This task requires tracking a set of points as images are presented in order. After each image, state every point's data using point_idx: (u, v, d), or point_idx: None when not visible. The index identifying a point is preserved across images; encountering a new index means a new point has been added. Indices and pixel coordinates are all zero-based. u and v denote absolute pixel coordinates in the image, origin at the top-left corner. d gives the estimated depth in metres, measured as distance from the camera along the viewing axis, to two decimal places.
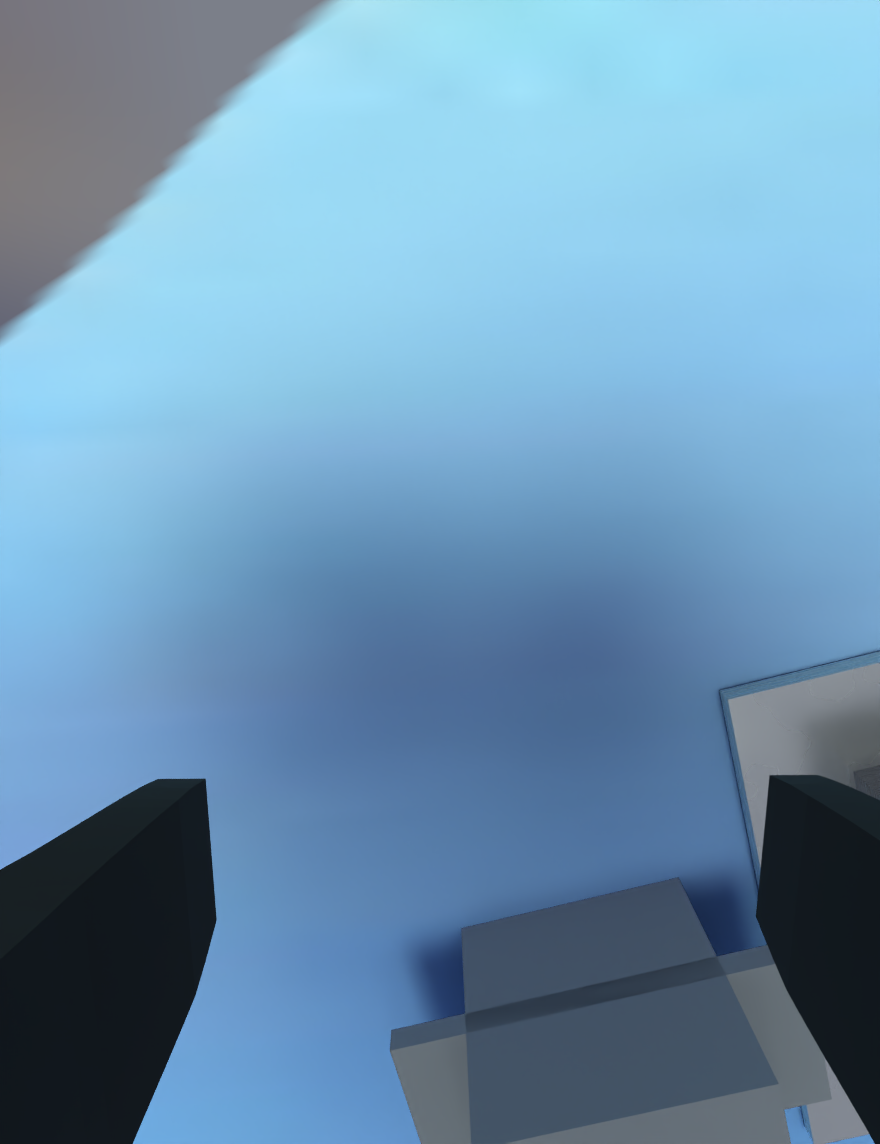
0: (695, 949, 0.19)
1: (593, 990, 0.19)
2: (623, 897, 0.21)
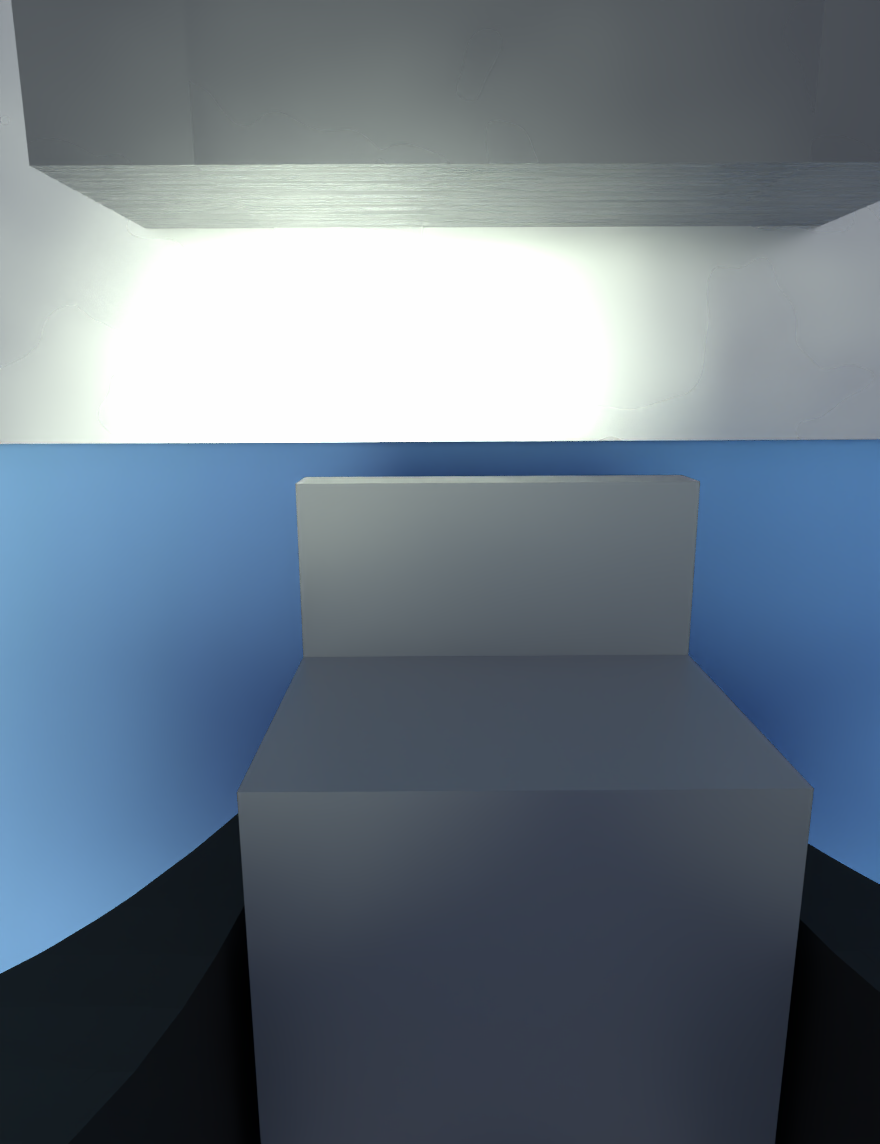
0: None
1: None
2: None
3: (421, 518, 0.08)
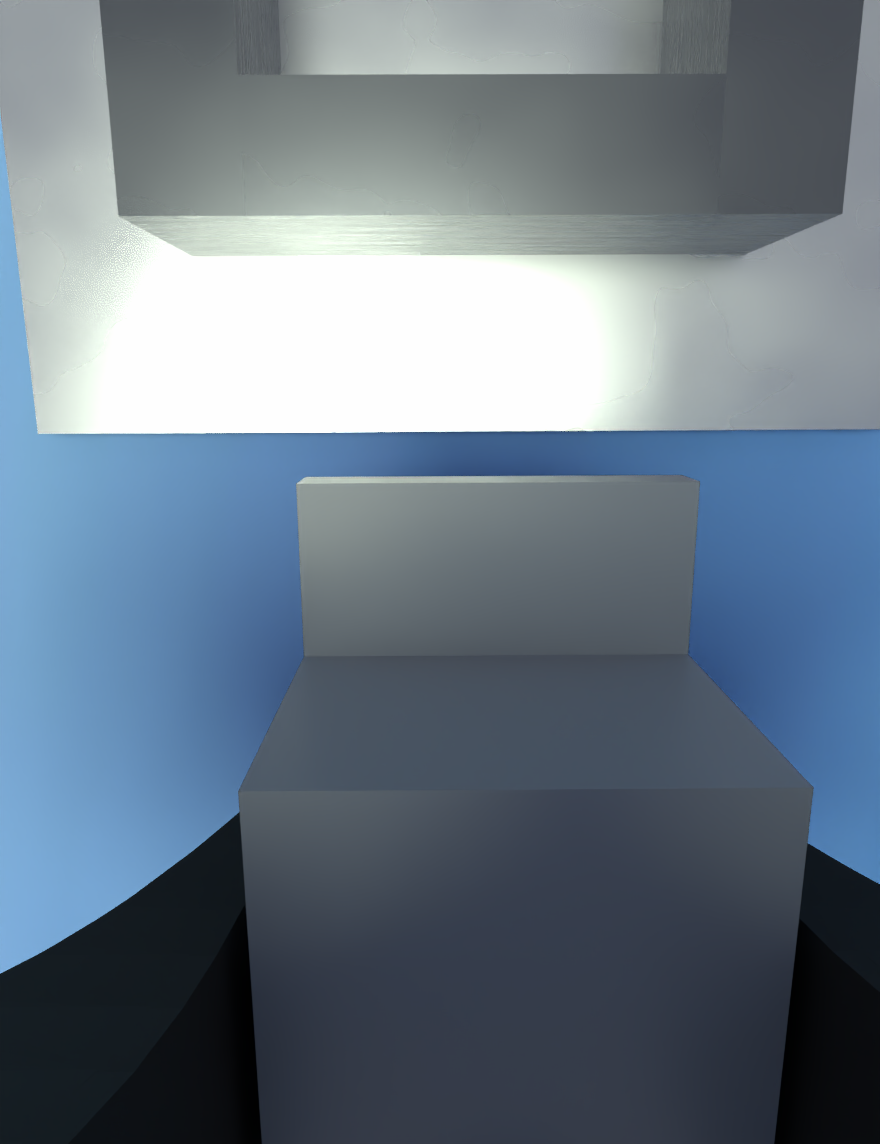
0: None
1: None
2: None
3: (422, 517, 0.08)
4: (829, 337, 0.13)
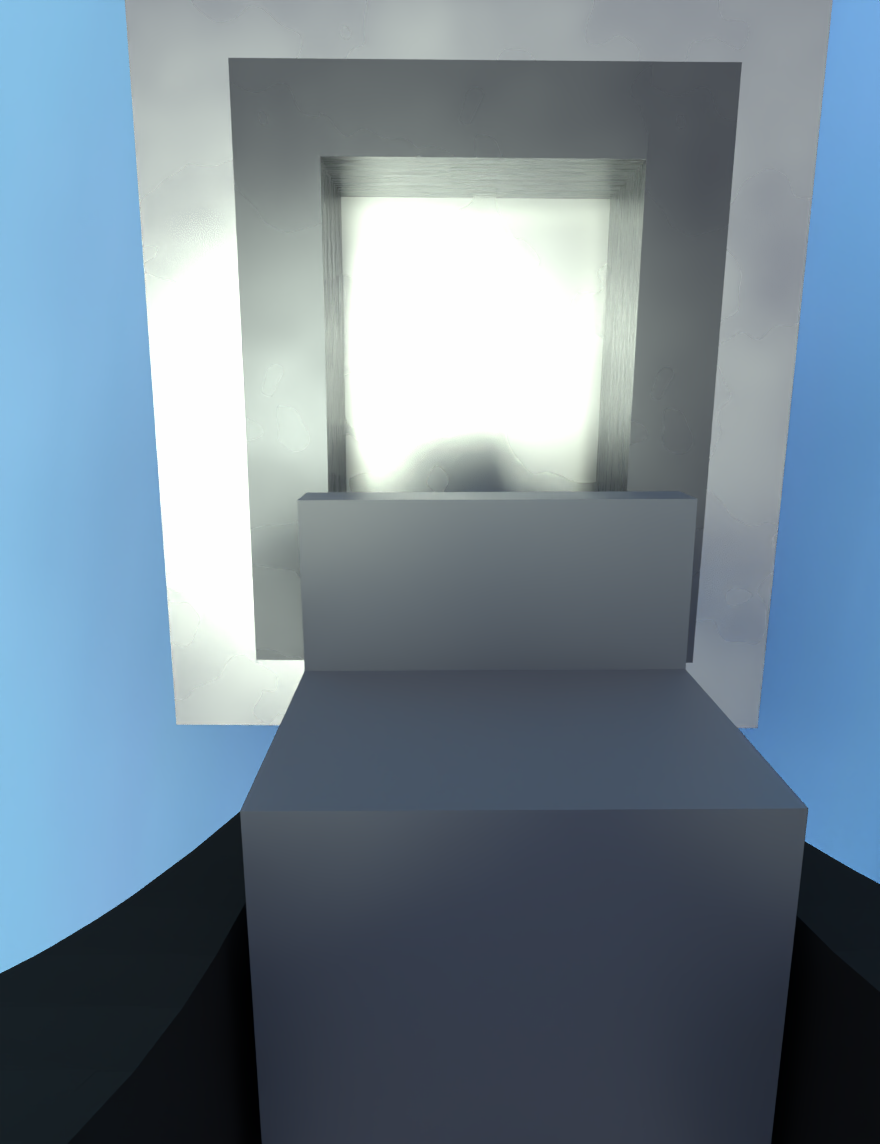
0: None
1: None
2: None
3: (423, 535, 0.08)
4: (709, 671, 0.19)
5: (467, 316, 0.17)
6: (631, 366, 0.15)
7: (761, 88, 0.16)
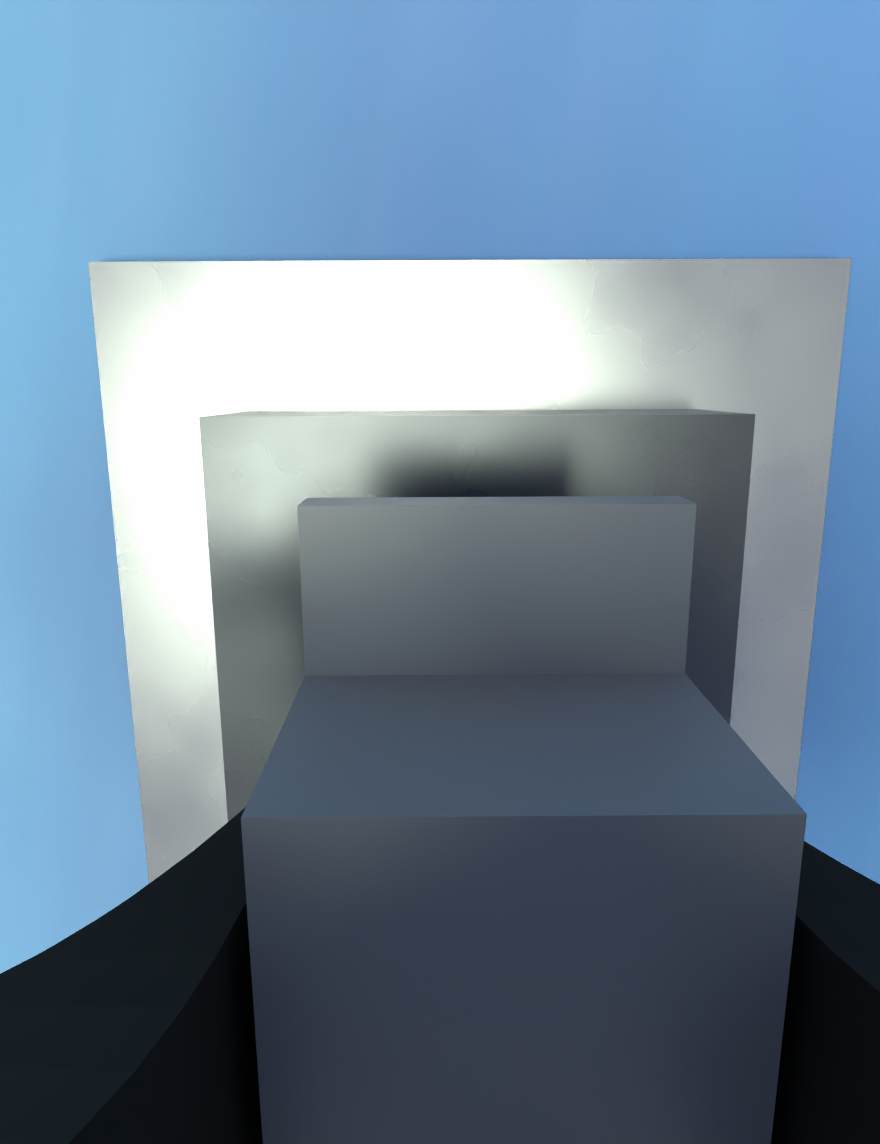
0: None
1: None
2: None
3: (422, 540, 0.08)
4: None
5: None
6: None
7: (773, 376, 0.15)
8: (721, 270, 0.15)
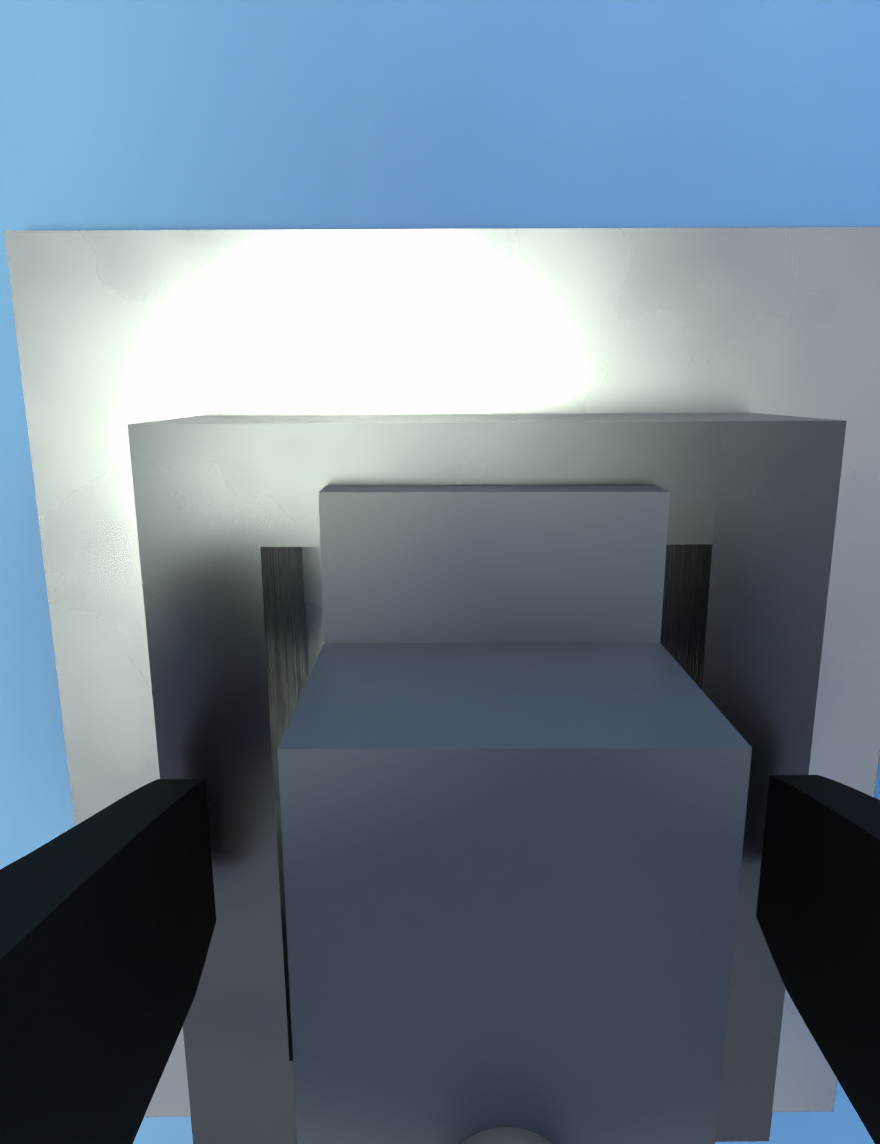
0: None
1: None
2: None
3: (428, 522, 0.09)
4: None
5: None
6: None
7: (847, 372, 0.12)
8: (786, 241, 0.12)
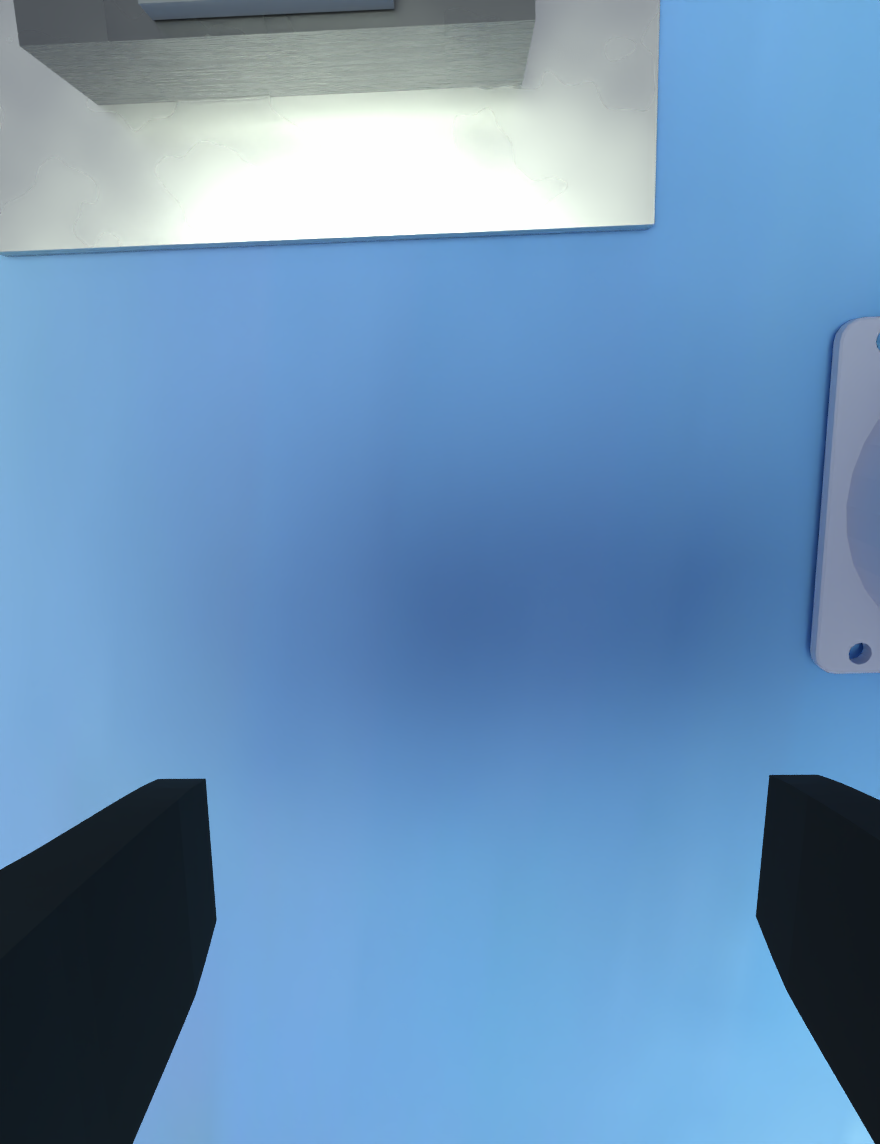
0: None
1: None
2: None
3: None
4: (592, 150, 0.16)
5: None
6: None
7: None
8: None
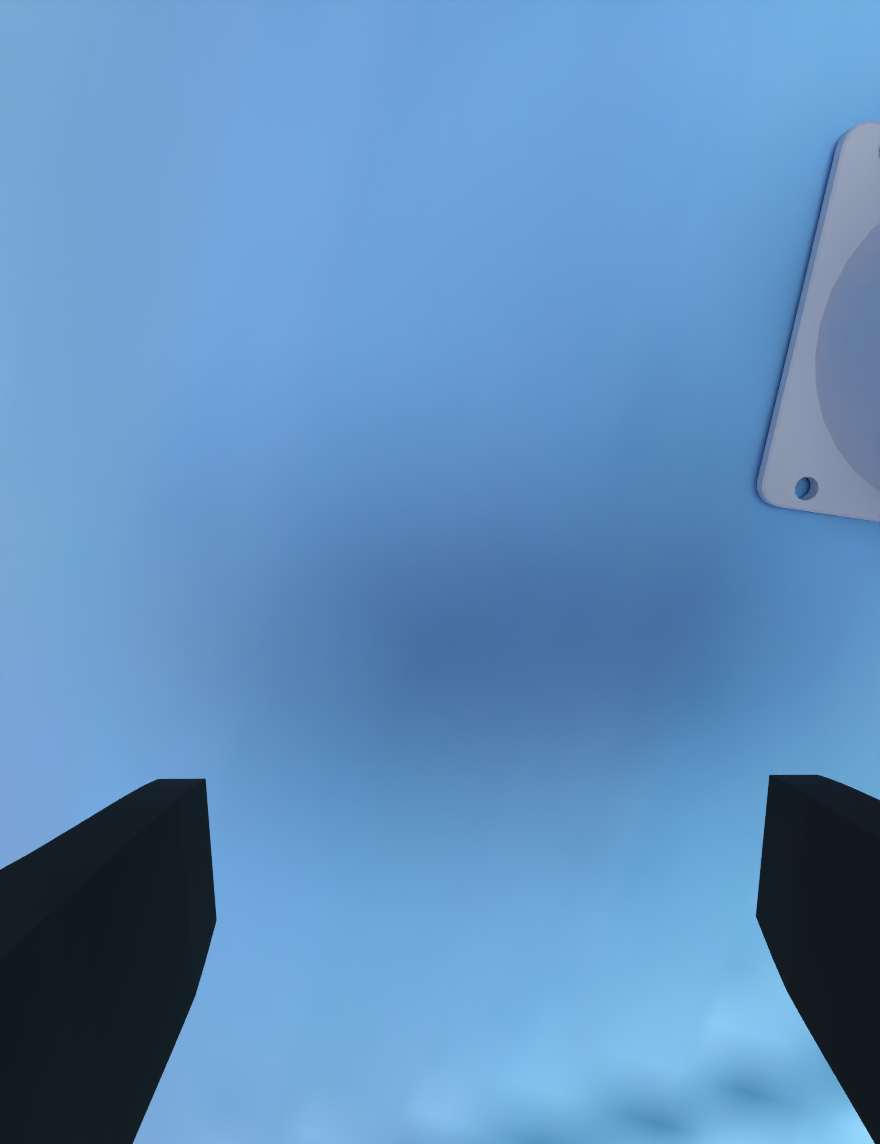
0: None
1: None
2: None
3: None
4: None
5: None
6: None
7: None
8: None
